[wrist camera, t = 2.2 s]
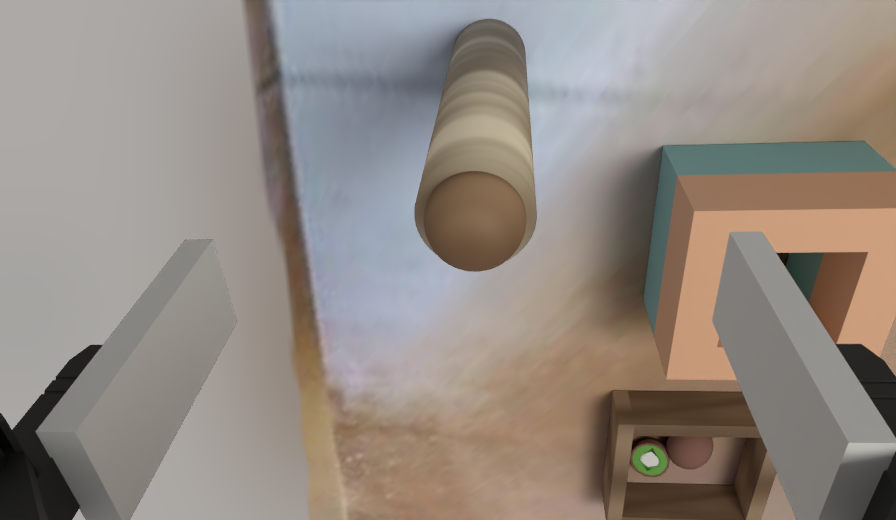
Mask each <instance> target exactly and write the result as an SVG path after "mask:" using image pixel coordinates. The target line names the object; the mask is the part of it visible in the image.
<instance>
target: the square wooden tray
mask: <svg viewBox="0 0 896 520" xmlns="http://www.w3.org/2000/svg"><path fill="white" fill-rule="evenodd" d="M633 436H687V437H742V438H746V442H745V445H744V449H743V453H742V456H741V460H740V463H739V467H738V471H737V474H736V478H735V482H734V485H702V484H662V483H627V477H628V470H629V463H630V456H631V448H632V441H633ZM775 475H776V470H775V468H774V466H773V463H772V461H771V458H770V456H769V454H768V451H767V449H766V447H765V444H764V442H763V440H762V437H761V435H760V433H759V430H758V428H757V426H756V423H755V421H754V419H753V416H752V414H751V411H750V409H749V407H748V404H747V402H746V400H745V397H744V395H743V393H742V392H684V391H612V400H611V410H610V419H609V428H608V438H607V447H606V456H605V466H604V475H603V484H602V495H603V502H604V510H605V517H606V520H761V518H762V515H763V512H764V509H765V506H766V503H767V500H768V497H769V494H770V491H771V488H772V484H773V481H774V478H775Z"/></svg>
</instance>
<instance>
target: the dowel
mask: <svg viewBox="0 0 896 520" xmlns="http://www.w3.org/2000/svg"><path fill="white" fill-rule="evenodd" d="M536 219H537V211H536V197H535V183H534V169H533V154H532V140H531V126H530V112H529V98H528V84H527V70H526V56H525V47H524V44H523V41H522V39H521V37H520V35H519V34H518V32H517V31H516V30H515V29H514V28H513V27H511V26H510V25H509V24H507V23H505V22H503V21H500V20H495V19H483V20H479V21H476V22H474V23H472V24H470V25H469V26H467V27H466V28H465V29H464V30H463V31H462V32H461V33H460V35H459V36H458V38H457V40H456V42H455V45H454V48H453V52H452V57H451V61H450V65H449V69H448V73H447V77H446V81H445V85H444V89H443V93H442V97H441V101H440V105H439V110H438V114H437V118H436V122H435V126H434V130H433V134H432V138H431V142H430V146H429V150H428V154H427V158H426V162H425V167H424V171H423V175H422V179H421V183H420V187H419V191H418V195H417V199H416V203H415V222H416V226H417V229H418V232H419V234H420V236H421V238H422V239H423V241H424V242H425V244H426V245H427V246H428V247H429V248H430V249H431V250H432V251H433V252H434V253H435V254H437V255H438V256H439V257H440V258H441V259H442V260H443V261H444V262H446V263H447V264H449V265H451V266H453V267H455V268H458V269H461V270H465V271H484V270H489V269H492V268H495V267H497V266H499V265H501V264H502V263H504V262H505V261H507V260H508V259H510V258H512V257H514V256H515V255H516V254H518V253H519V252H520V251H521V250H522V249H523V248H524V247H525V246H526V244H527V243H528V242H529V240H530V238H531V237H532V234H533V232H534V230H535V225H536Z"/></svg>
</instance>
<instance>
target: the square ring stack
mask: <svg viewBox="0 0 896 520" xmlns="http://www.w3.org/2000/svg"><path fill="white" fill-rule="evenodd" d="M756 231H762V232H763V233H764V235H765V236H766V238H767V239H768V241H769V243H770V244H771V246H772V247H773V249H774V250H775V252H776V253H789V256H788V260H787V264H786V269H787V270H788V272H789V274H790V275H791V277H792V278H793V280H794V281H795V283H796V284H797V286H798V287H799V289H800V291H801V292H802V294H803V295H804V297H805V298H806V300H807V301H808V303H809V304H810V306H811V308H812V309H813V311H814V312H815V314H816V315H817V317H818V318H819V320H820V321H821V323H822V325H823V326H824V328H825V329H826V331H827V332H828V334H829V335H830V337H831V339H832V340H833V342H834V343H835V344H862V345H864V346H865V347H866V348H868V349H869V350H870V351H872V352H873V353H874V354H876V355H877V356H878V357H880V354H881V352H882V349H883V347H884V344H885V342H886V339H887V337H888V334H889V332H890V329H891V327H892V324H893V322H894V319H895V316H896V169H895V168H894V167H893V166H892V165H891V164H889V163H888V162H887V161H886V160H885V159H884V158H883V157H882V156H881V155H879V154H878V153H877V152H876V151H875V150H874V149H873V148H872V147H870V146H869V145H868V144H867V143H866V142H865V141H844V142H802V143H760V144H717V145H675V146H663V150H662V158H661V166H660V173H659V181H658V189H657V197H656V204H655V212H654V220H653V228H652V235H651V243H650V251H649V259H648V267H647V274H646V282H645V290H644V298H643V299H644V303H645V306H646V310H647V313H648V317H649V320H650V324H651V327H652V331H653V334H654V338H655V341H656V345H657V349H658V352H659V356H660V359H661V363H662V366H663V370H664V373H665V377H666V379H675V380H737V379H736V376H735V374H734V372H733V369H732V367H731V364H730V362H729V360H728V357H727V355H726V353H725V350H724V348H723V346H722V343H721V341H720V339H719V336H718V334H717V332H716V329H715V327H714V325H713V322H712V318H713V313H714V308H715V303H716V298H717V293H718V288H719V283H720V278H721V273H722V268H723V263H724V258H725V253H726V248H727V243H728V238H729V233H730V232H756Z"/></svg>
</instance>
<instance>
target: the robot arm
mask: <svg viewBox="0 0 896 520" xmlns="http://www.w3.org/2000/svg"><path fill="white" fill-rule="evenodd" d="M712 322H713V325H714V327H715V329H716V332H717V334H718V336H719V339H720V341H721V343H722V346H723V348H724V350H725V353H726V355H727V357H728V360H729V362H730V364H731V367H732V369H733V372H734V374H735V376H736V379H737V381H738V383H739V386H740V388H741V390H742V393H743V395H744V397H745V400H746V402H747V404H748V407H749V409H750V411H751V414H752V416H753V419H754V421H755V423H756V426H757V428H758V430H759V433H760V435H761V437H762V440H763V442H764V444H765V447H766V449H767V451H768V454H769V456H770V458H771V461H772V463H773V466H774V468H775V470H776V473H777V475H778V477H779V480H780V482H781V484H782V487H783V489H784V491H785V494H786V496H787V498H788V501H789V503H790V505H791V508H792V510H793V513H794V515H795V517H796V520H896V377H895V375H894V374H893V372H892V371H891V370H890V368H889V367H888V366H887V364H886V363H885V361H884V360H882V359H881V358H880V357H878V356H877V355H876V354H874V353H873V352H872V351H870V350H869V349H868V348H866V347H865V346H864V345H862V344H835V343H834V342H833V340H832V339H831V337H830V335H829V334H828V332H827V331H826V329H825V328H824V326H823V325H822V323H821V321H820V320H819V318H818V317H817V315H816V314H815V312H814V311H813V309H812V308H811V306H810V304H809V303H808V301H807V300H806V298H805V297H804V295H803V294H802V292H801V291H800V289H799V287H798V286H797V284H796V283H795V281H794V280H793V278H792V277H791V275H790V274H789V272H788V270H787V269H786V267H785V266H784V264H783V263H782V261H781V260H780V258H779V257H778V255H777V253H776V252H775V250H774V249H773V247H772V246H771V244H770V243H769V241H768V239H767V238H766V236H765V235H764V233H763V232H762V231H756V232H730V233H729V238H728V243H727V248H726V253H725V258H724V263H723V268H722V273H721V278H720V283H719V288H718V293H717V298H716V303H715V308H714V313H713V318H712ZM236 323H237V319H236V316H235V313H234V309H233V306H232V303H231V299H230V296H229V293H228V289H227V286H226V282H225V279H224V276H223V272H222V269H221V265H220V262H219V259H218V255H217V252H216V248H215V245H214V241H213V239H207V240H184V242H183V243H182V244H181V246H180V247H179V248H178V249H177V251H176V252H175V253H174V254H173V256H172V257H171V258H170V260H169V261H168V262H167V263H166V265H165V266H164V267H163V269H162V270H161V271H160V272H159V274H158V275H157V277H156V278H155V279H154V280H153V282H152V283H151V284H150V286H149V287H148V288H147V289H146V290H145V292H144V293H143V294H142V296H141V297H140V298H139V299H138V301H137V302H136V303H135V305H134V306H133V307H132V308H131V310H130V311H129V312H128V313H127V315H126V316H125V317H124V319H123V320H122V321H121V322H120V324H119V325H118V326H117V328H116V329H115V330H114V331H113V333H112V334H111V335H110V337H109V338H108V339H107V340H106V342H105V343H104V344H103V345H90V346H88V347H87V348H86V349H84V350H83V351H82V352H80V353H79V354H77V355H76V356H75V357H73V358H72V359H70V360H69V361H68V363H67V364H66V365H65V366H64V368H63V369H62V370H61V371H60V372H59V374H58V375H57V376H56V380H53V381H52V382H51V384H50V385H49V386H48V387H47V388H46V389H45V393H44V394H42V395H41V396H40V397H39V398H38V399H37V401H36V402H35V403H34V404H33V405H32V407H31V408H30V409H29V410H28V412H27V413H26V414H25V415H24V416H23V418H22V419H21V420H20V421H19V423H18V424H17V425H16V426H15V428H14V429H13V430H11V428H10V427H9V425H8V423H7V421H6V420H5V418H4V417H3V416H2V414H1V413H0V520H72V519H73V517H74V516H75V514H76V512H77V511H78V509H80V510H81V512H82V514H83V516H84V517H85V519H86V520H130V519H131V517H132V515H133V513H134V511H135V510H136V508H137V506H138V504H139V502H140V500H141V499H142V497H143V495H144V493H145V491H146V489H147V488H148V486H149V484H150V482H151V480H152V478H153V476H154V475H155V473H156V471H157V469H158V467H159V465H160V463H161V462H162V460H163V458H164V456H165V454H166V453H167V450H168V449H169V447H170V445H171V443H172V441H173V439H174V438H175V436H176V434H177V432H178V430H179V429H180V427H181V425H182V423H183V421H184V419H185V417H186V416H187V414H188V412H189V410H190V408H191V406H192V405H193V403H194V401H195V399H196V397H197V395H198V394H199V392H200V390H201V388H202V386H203V384H204V382H205V381H206V379H207V377H208V375H209V373H210V371H211V370H212V368H213V366H214V364H215V362H216V360H217V358H218V356H219V355H220V353H221V351H222V349H223V347H224V346H225V344H226V342H227V340H228V338H229V336H230V334H231V333H232V331H233V329H234V327H235V325H236Z"/></svg>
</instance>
